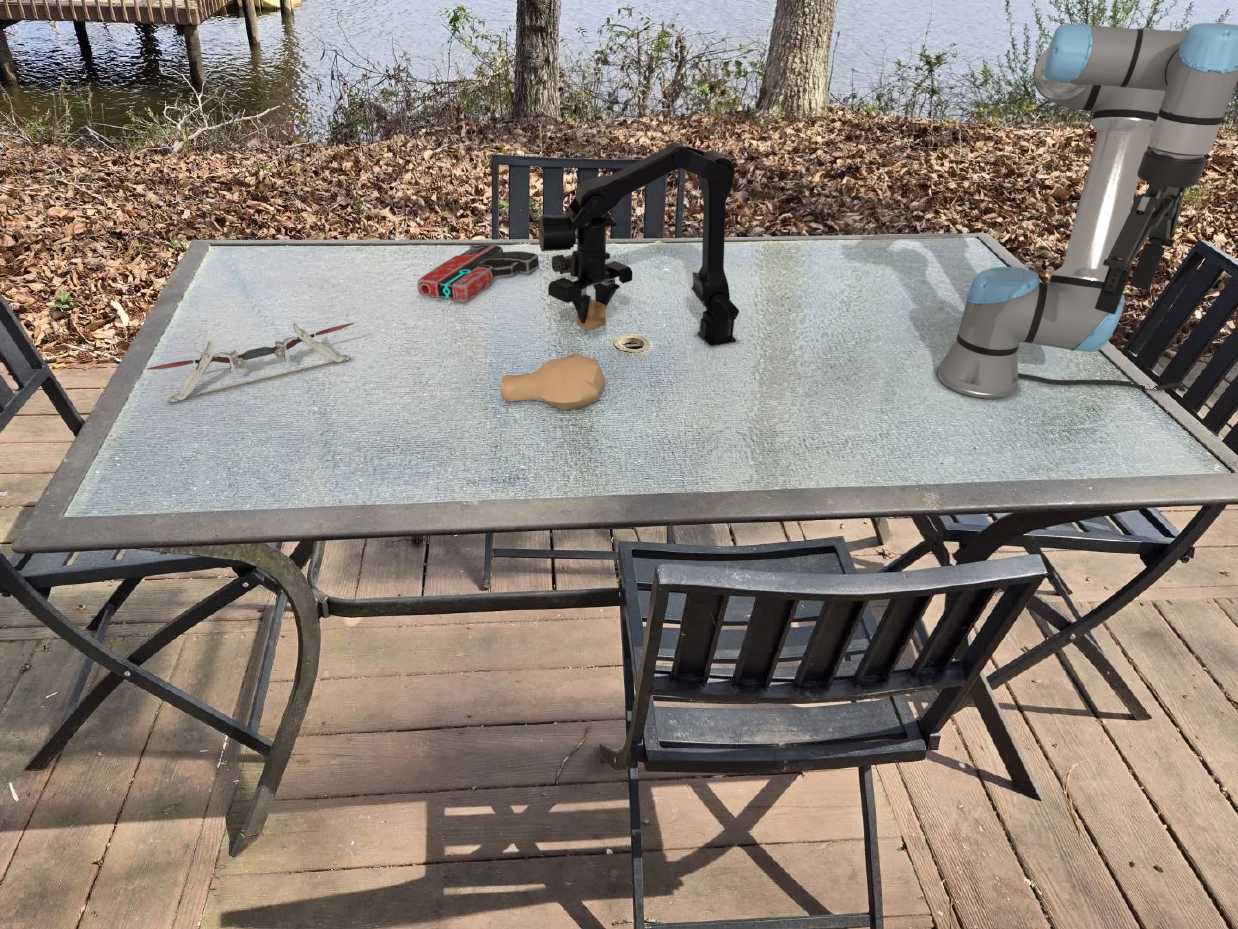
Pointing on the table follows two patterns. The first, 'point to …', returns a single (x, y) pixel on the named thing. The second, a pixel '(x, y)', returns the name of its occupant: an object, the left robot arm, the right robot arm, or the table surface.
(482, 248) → the gun
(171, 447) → the table surface
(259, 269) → the table surface
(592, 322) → the block
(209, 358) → the bow
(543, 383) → the squash
